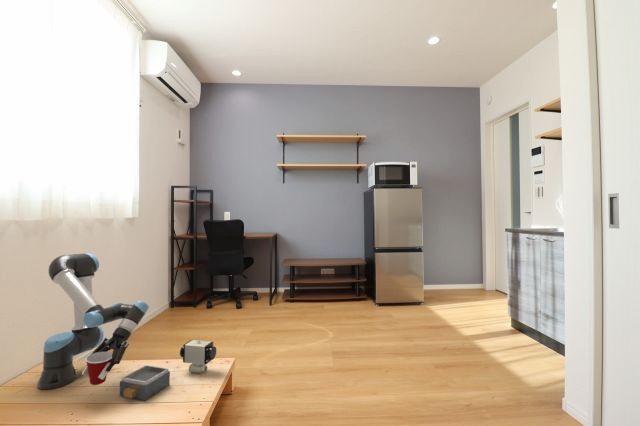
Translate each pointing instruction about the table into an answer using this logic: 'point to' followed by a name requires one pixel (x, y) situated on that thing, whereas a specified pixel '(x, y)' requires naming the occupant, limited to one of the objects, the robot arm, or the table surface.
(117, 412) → the table surface
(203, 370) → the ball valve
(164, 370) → the square tray with tab
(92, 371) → the plastic cup
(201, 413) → the table surface
